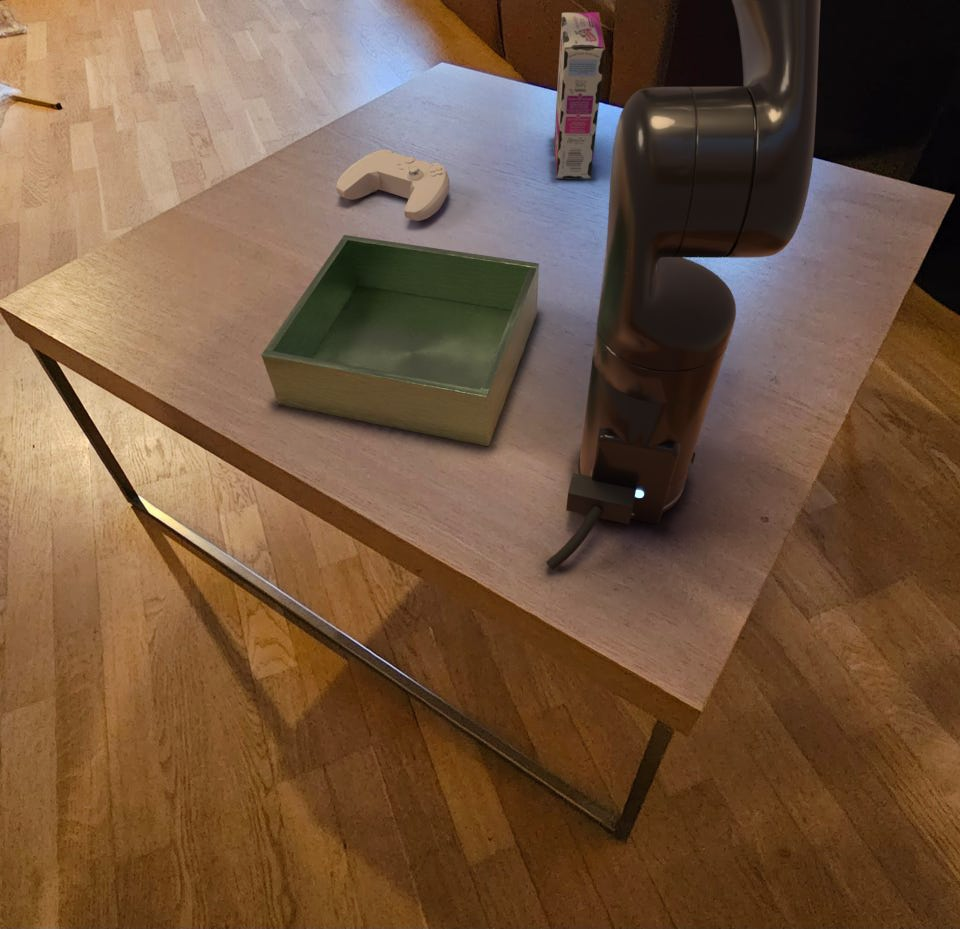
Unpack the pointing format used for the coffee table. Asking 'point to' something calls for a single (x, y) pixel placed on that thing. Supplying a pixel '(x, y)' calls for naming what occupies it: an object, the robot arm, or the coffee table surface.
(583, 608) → the coffee table surface
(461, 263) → the shallow wooden crate
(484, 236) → the coffee table surface
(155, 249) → the coffee table surface
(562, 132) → the candy bar box
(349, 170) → the game controller
